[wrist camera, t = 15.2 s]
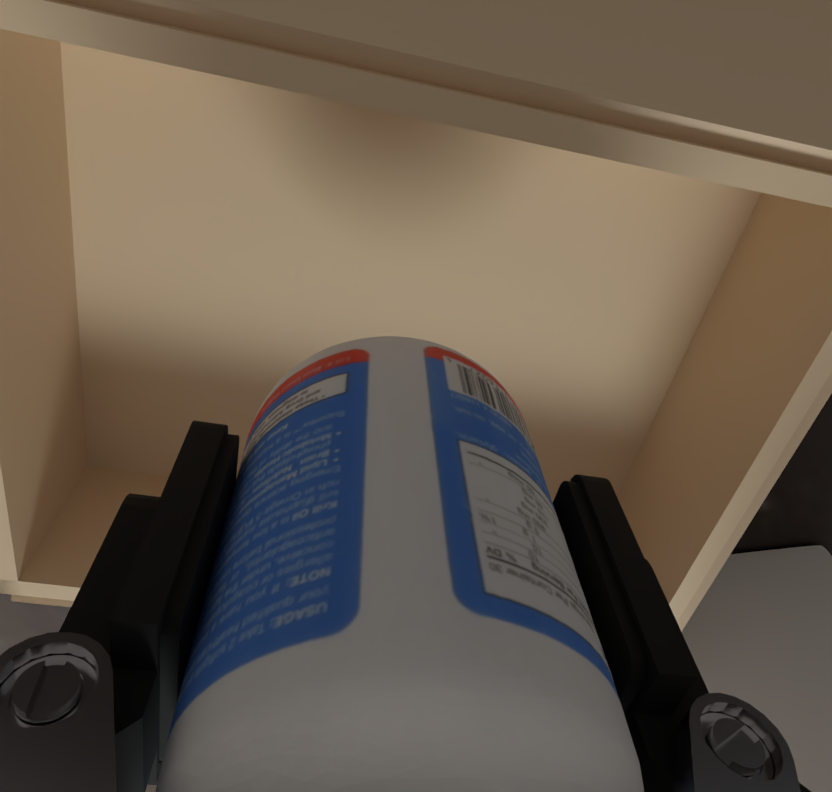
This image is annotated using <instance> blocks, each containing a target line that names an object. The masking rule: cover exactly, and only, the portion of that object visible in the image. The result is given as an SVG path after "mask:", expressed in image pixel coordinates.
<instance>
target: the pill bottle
mask: <svg viewBox="0 0 832 792" xmlns="http://www.w3.org/2000/svg"><path fill="white" fill-rule="evenodd" d="M156 792H644V786H643V780H642V774H641V769H640V763H639V760H638V757H637V753H636V750H635V747H634V744H633V741H632V738H631V735H630V731H629V728H628V725H627V722H626V719H625V715H624V712H623V709H622V705H621V702H620V700H619V697H618V694H617V691H616V688H615V684H614V681H613V678H612V675H611V671H610V669H609V666H608V663H607V660H606V658H605V655H604V652H603V649H602V646H601V643H600V640H599V638H598V635H597V632H596V629H595V626H594V623H593V620H592V617H591V614H590V611H589V608H588V605H587V602H586V599H585V596H584V593H583V590H582V588H581V585H580V582H579V579H578V576H577V573H576V570H575V567H574V564H573V561H572V558H571V555H570V552H569V549H568V547H567V544H566V540H565V537H564V534H563V532H562V529H561V526H560V523H559V520H558V517H557V514H556V511H555V508H554V506H553V503H552V500H551V497H550V494H549V491H548V488H547V485H546V482H545V479H544V476H543V473H542V470H541V467H540V464H539V461H538V458H537V455H536V452H535V449H534V446H533V443H532V441H531V438H530V435H529V432H528V430H527V426H526V423H525V421H524V418H523V416H522V414H521V412H520V411H519V409H518V407H517V406H516V404H515V402H514V400H513V399H512V397H511V396H510V395H509V393H508V392H507V390H506V389H505V388H504V387H503V385H502V384H501V383H500V382H499V381H498V380H497V379H496V378H495V377H494V376H493V375H492V374H491V373H490V372H489V371H488V370H486V369H485V368H483V367H482V366H481V365H479V364H478V363H476V362H475V361H473V360H472V359H470V358H468V357H467V356H465V355H463V354H461V353H459V352H458V351H455V350H453V349H451V348H448V347H446V346H443V345H440V344H437V343H434V342H430V341H426V340H421V339H415V338H409V337H399V336H380V337H370V338H362V339H357V340H352V341H347V342H343V343H340V344H337V345H334V346H331V347H328V348H326V349H324V350H322V351H320V352H318V353H316V354H314V355H312V356H311V357H309V358H307V359H306V360H304V361H303V362H301V363H300V364H298V365H297V366H295V367H294V368H293V369H291V370H290V371H289V372H288V373H287V374H286V375H284V376H283V377H282V378H281V379H280V380H279V381H278V383H277V384H276V385H275V386H274V387H273V389H272V390H271V391H270V393H269V394H268V395H267V397H266V398H265V400H264V402H263V403H262V405H261V407H260V408H259V410H258V412H257V414H256V417H255V419H254V422H253V424H252V427H251V429H250V432H249V434H248V438H247V441H246V445H245V448H244V452H243V455H242V459H241V463H240V466H239V470H238V474H237V478H236V483H235V486H234V489H233V493H232V497H231V500H230V504H229V507H228V511H227V515H226V519H225V523H224V526H223V530H222V534H221V538H220V542H219V545H218V549H217V553H216V557H215V560H214V564H213V568H212V572H211V576H210V579H209V583H208V587H207V591H206V594H205V598H204V602H203V606H202V610H201V613H200V617H199V621H198V625H197V629H196V632H195V636H194V640H193V644H192V648H191V652H190V655H189V659H188V663H187V667H186V671H185V674H184V678H183V682H182V686H181V689H180V693H179V697H178V701H177V705H176V708H175V712H174V716H173V720H172V724H171V728H170V732H169V736H168V740H167V744H166V748H165V752H164V757H163V761H162V766H161V770H160V775H159V779H158V784H157V788H156Z"/></svg>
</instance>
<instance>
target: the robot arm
mask: <svg viewBox="0 0 832 792" xmlns="http://www.w3.org/2000/svg"><path fill="white" fill-rule="evenodd" d="M238 452H239V435H232V434H228V426H227V425H224V424H216V423H209V422H202V421H195V420H194V421H193V422H192V423H191V425H190V428H189V430H188V433H187V435H186V437H185V440H184V442H183V444H182V447H181V449H180V452H179V454H178V456H177V459H176V461H175V463H174V466H173V468H172V471H171V473H170V475H169V478H168V480H167V482H166V485H165V487H164V490H163V492H162V494H161V497H156V496H148V495H140V494H132V493H129V494H128V495H127V496H126V497H125V499H124V501H123V502H122V504H121V506H120V508H119V510H118V512H117V514H116V516H115V518H114V520H113V522H112V524H111V527H110V529H109V531H108V533H107V535H106V537H105V539H104V541H103V543H102V545H101V547H100V549H99V551H98V553H97V555H96V557H95V559H94V561H93V563H92V565H91V567H90V570H89V572H88V574H87V576H86V578H85V580H84V582H83V584H82V586H81V588H80V590H79V592H78V594H77V596H76V598H75V600H74V602H73V604H72V606H71V608H70V610H69V613H68V615H67V617H66V619H65V621H64V623H63V625H62V627H61V629H60V631H59V632H54V633H46V634H43V635H39V636H35V637H31V638H28V639H26V640H24V641H22V642H21V643H19V644H17V645H15V646H13V647H11V648H9V649H8V650H7V651H5V652H4V653H3V654H2V655H0V792H145V790H146V787H147V784H149V785H157V782H158V778H159V774H160V770H161V766H162V761H163V757H164V752H165V748H166V744H167V740H168V736H169V732H170V728H171V724H172V720H173V716H174V712H175V708H176V705H177V701H178V697H179V693H180V689H181V686H182V682H183V678H184V674H185V671H186V667H187V663H188V659H189V655H190V652H191V648H192V644H193V640H194V636H195V632H196V629H197V625H198V621H199V617H200V613H201V610H202V606H203V602H204V598H205V594H206V591H207V587H208V583H209V579H210V576H211V572H212V568H213V564H214V560H215V557H216V553H217V549H218V545H219V542H220V538H221V534H222V530H223V526H224V523H225V519H226V515H227V511H228V507H229V504H230V500H231V497H232V493H233V489H234V486H235V483H236V475H237V463H238ZM553 506H554V508H555V511H556V514H557V517H558V520H559V523H560V526H561V529H562V532H563V534H564V537H565V540H566V544H567V547H568V549H569V552H570V555H571V558H572V561H573V564H574V567H575V570H576V573H577V576H578V579H579V582H580V585H581V588H582V590H583V593H584V596H585V599H586V602H587V605H588V608H589V611H590V614H591V617H592V620H593V623H594V626H595V629H596V632H597V635H598V638H599V640H600V643H601V646H602V649H603V652H604V655H605V658H606V660H607V663H608V666H609V669H610V671H611V675H612V678H613V681H614V684H615V688H616V691H617V694H618V697H619V700H620V702H621V705H622V709H623V712H624V715H625V719H626V722H627V725H628V728H629V731H630V735H631V738H632V741H633V744H634V747H635V750H636V753H637V757H638V760H639V763H640V769H641V774H642V780H643V786H644V792H811V791H810V790H809V789H807V788H806V787H805V786H803V785H802V784H801V783H799V781H798V776H797V772H796V767H795V763H794V759H793V756H792V754H791V751H790V748H789V746H788V744H787V742H786V740H785V739H784V737H783V736H782V734H781V733H780V731H779V730H778V728H777V727H776V726H775V725H774V724H773V723H772V722H771V721H770V720H769V719H768V718H767V717H766V716H765V715H764V714H763V713H761V712H760V711H759V710H757V709H756V708H755V707H753V706H752V705H751V704H749V703H747V702H745V701H743V700H741V699H739V698H737V697H735V696H731V695H727V694H723V693H709V691H708V689H707V687H706V685H705V683H704V680H703V678H702V676H701V674H700V672H699V669H698V667H697V665H696V663H695V661H694V658H693V656H692V654H691V652H690V650H689V647H688V645H687V643H686V641H685V639H684V636H683V634H682V632H681V630H680V628H679V625H678V623H677V621H676V619H675V617H674V614H673V612H672V610H671V608H670V606H669V603H668V601H667V599H666V597H665V595H664V592H663V590H662V588H661V586H660V584H659V581H658V579H657V577H656V575H655V573H654V570H653V568H652V566H651V565H650V563H649V562H648V560H646V559H645V558H644V556H643V554H642V552H641V549H640V547H639V545H638V543H637V540H636V538H635V536H634V534H633V531H632V529H631V527H630V525H629V523H628V520H627V518H626V516H625V514H624V511H623V509H622V507H621V505H620V502H619V500H618V498H617V496H616V494H615V491H614V489H613V487H612V485H611V483H610V481H609V480H608V479H606V478H601V477H593V476H586V475H579V474H577V475H574V476H573V477H572V478H571V480H570V481H563V482H562V483H561V485H560V486H559V489H558V491H557V494H556V496H555V498H554V501H553Z"/></svg>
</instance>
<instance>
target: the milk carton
mask: <svg viewBox="0 0 832 792" xmlns="http://www.w3.org/2000/svg"><path fill="white" fill-rule="evenodd" d="M682 634H683V636H684V639H685V641H686V643H687V645H688V647H689V650H690V652H691V654H692V656H693V658H694V661H695V663H696V665H697V667H698V669H699V672H700V674H701V676H702V678H703V680H704V683H705V685H706V687H707V689H708V691H709V693H723V694H727V695H731V696H735V697H737V698H739V699H741V700H743V701H745V702H747V703H749V704H751V705H752V706H753V707H755V708H756V709H757V710H759V711H760V712H761V713H763V714H764V715H765V716H766V717H767V718H768V719H769V720H770V721H771V722H772V723H773V724H774V725H775V726H776V727H777V728H778V730H779V731H780V733H781V734H782V736H783V737H784V739H785V740H786V742H787V744H788V746H789V748H790V751H791V754H792V756H793V759H794V763H795V767H796V772H797V776H798V781H799V783H801V784H802V785H803V786H805V787H806V788H807V789H809V790H810V791H811V792H832V556H831V554H830V553H829V552H828V551H827V550H826V548H824V547H823V546H821V545H815V546H803V547H793V548H784V549H775V550H765V551H756V552H747V553H738V554H730V556H729V557H728V559H727V560H726V562H725V564H724V565H723V567H722V568H721V570H720V572H719V573H718V575H717V576H716V578H715V579H714V581H713V583H712V584H711V586H710V587H709V589H708V591H707V592H706V594H705V595H704V597H703V599H702V600H701V602H700V603H699V605H698V606H697V608H696V610H695V611H694V613H693V614H692V616H691V618H690V619H689V621H688V622H687V624H686V626H685V627H684V629H683V630H682Z"/></svg>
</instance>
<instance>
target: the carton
mask: <svg viewBox="0 0 832 792" xmlns="http://www.w3.org/2000/svg"><path fill="white" fill-rule="evenodd" d="M380 336H399V337H409V338H415V339H421V340H426V341H430V342H434V343H437V344H440V345H443V346H446V347H448V348H451V349H453V350H455V351H458V352H459V353H461V354H463V355H465V356H467V357H468V358H470V359H472V360H473V361H475V362H476V363H478V364H479V365H481V366H482V367H483V368H485V369H486V370H488V371H489V372H490V373H491V374H492V375H493V376H494V377H495V378H496V379H497V380H498V381H499V382H500V383H501V384H502V385H503V387H504V388H505V389H506V390H507V392H508V393H509V395H510V396H511V397H512V399H513V400H514V402H515V404H516V406H517V407H518V409H519V411H520V412H521V414H522V416H523V418H524V421H525V423H526V426H527V430H528V432H529V435H530V438H531V441H532V443H533V446H534V449H535V452H536V455H537V458H538V461H539V464H540V467H541V470H542V473H543V476H544V479H545V482H546V485H547V488H548V491H549V494H550V497H551V500H552V503H553V501H554V498H555V496H556V494H557V491H558V489H559V486H560V485H561V483H562V482H563V481H570V480H571V478H572V477H573V476H574V475H577V474H579V475H586V476H593V477H601V478H606V479H608V480H609V481H610V483H611V485H612V487H613V489H614V491H615V494H616V496H617V498H618V500H619V502H620V505H621V507H622V509H623V511H624V514H625V516H626V518H627V520H628V523H629V525H630V527H631V529H632V531H633V534H634V536H635V538H636V540H637V543H638V545H639V547H640V549H641V552H642V554H643V556H644V558H645V559H646V560H648V562H649V563H650V565H651V566H652V568H653V570H654V573H655V575H656V577H657V579H658V581H659V584H660V586H661V588H662V590H663V592H664V595H665V597H666V599H667V601H668V603H669V606H670V608H671V610H672V612H673V614H674V617H675V619H676V621H677V623H678V625H679V628H680V630H681V632H682V630H683V629H684V627H685V626H686V624H687V622H688V621H689V619H690V618H691V616H692V614H693V613H694V611H695V610H696V608H697V606H698V605H699V603H700V602H701V600H702V599H703V597H704V595H705V594H706V592H707V591H708V589H709V587H710V586H711V584H712V583H713V581H714V579H715V578H716V576H717V575H718V573H719V572H720V570H721V568H722V567H723V565H724V564H725V562H726V560H727V559H728V557H729V556H730V554H731V552H732V551H733V549H734V548H735V546H736V545H737V543H738V541H739V540H740V538H741V537H742V535H743V533H744V532H745V530H746V529H747V527H748V525H749V524H750V522H751V521H752V519H753V518H754V516H755V514H756V513H757V511H758V510H759V508H760V506H761V505H762V503H763V502H764V500H765V498H766V497H767V495H768V494H769V492H770V491H771V489H772V487H773V486H774V484H775V483H776V481H777V479H778V478H779V476H780V475H781V473H782V471H783V470H784V468H785V467H786V465H787V464H788V462H789V460H790V459H791V457H792V456H793V454H794V452H795V451H796V449H797V448H798V446H799V444H800V443H801V441H802V440H803V438H804V437H805V435H806V433H807V432H808V430H809V429H810V427H811V425H812V424H813V422H814V421H815V419H816V417H817V416H818V414H819V413H820V411H821V410H822V408H823V406H824V405H825V403H826V402H827V400H828V398H829V397H830V395H831V394H832V0H0V593H3V594H12V597H11V601H16V602H26V603H35V604H45V605H55V606H64V607H71V606H72V604H73V602H74V600H75V598H76V596H77V594H78V592H79V590H80V588H81V586H82V584H83V582H84V580H85V578H86V576H87V574H88V572H89V570H90V567H91V565H92V563H93V561H94V559H95V557H96V555H97V553H98V551H99V549H100V547H101V545H102V543H103V541H104V539H105V537H106V535H107V533H108V531H109V529H110V527H111V524H112V522H113V520H114V518H115V516H116V514H117V512H118V510H119V508H120V506H121V504H122V502H123V501H124V499H125V497H126V496H127V495H128V494H129V493H132V494H140V495H148V496H156V497H161V494H162V492H163V490H164V487H165V485H166V482H167V480H168V478H169V475H170V473H171V471H172V468H173V466H174V463H175V461H176V459H177V456H178V454H179V452H180V449H181V447H182V444H183V442H184V440H185V437H186V435H187V433H188V430H189V428H190V425H191V423H192V422H193V421H194V420H195V421H202V422H209V423H216V424H224V425H227V426H228V434H232V435H239V452H238V463H237V474H238V470H239V466H240V463H241V459H242V455H243V452H244V448H245V445H246V441H247V438H248V434H249V432H250V429H251V427H252V424H253V422H254V419H255V417H256V414H257V412H258V410H259V408H260V407H261V405H262V403H263V402H264V400H265V398H266V397H267V395H268V394H269V393H270V391H271V390H272V389H273V387H274V386H275V385H276V384H277V383H278V381H279V380H280V379H281V378H282V377H283V376H284V375H286V374H287V373H288V372H289V371H290V370H291V369H293V368H294V367H295V366H297V365H298V364H300V363H301V362H303V361H304V360H306V359H307V358H309V357H311V356H312V355H314V354H316V353H318V352H320V351H322V350H324V349H326V348H328V347H331V346H334V345H337V344H340V343H343V342H347V341H352V340H357V339H362V338H370V337H380ZM236 478H237V475H236Z"/></svg>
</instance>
